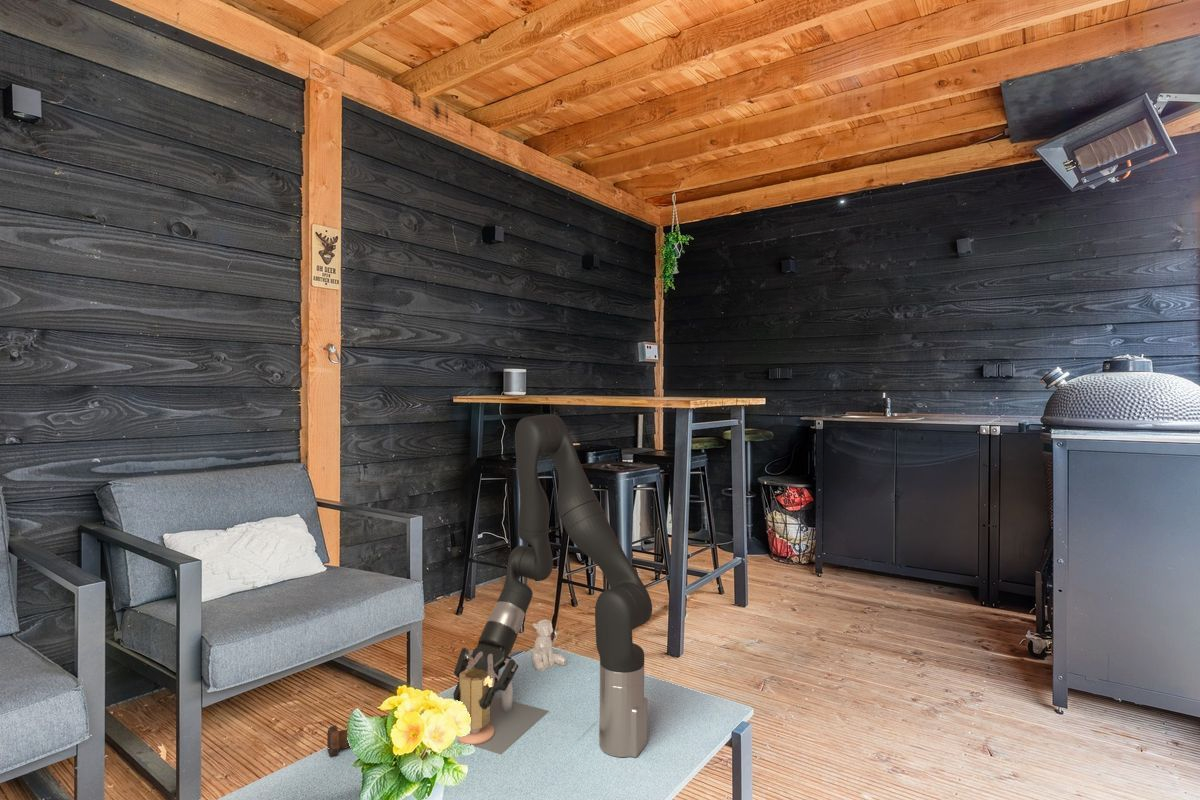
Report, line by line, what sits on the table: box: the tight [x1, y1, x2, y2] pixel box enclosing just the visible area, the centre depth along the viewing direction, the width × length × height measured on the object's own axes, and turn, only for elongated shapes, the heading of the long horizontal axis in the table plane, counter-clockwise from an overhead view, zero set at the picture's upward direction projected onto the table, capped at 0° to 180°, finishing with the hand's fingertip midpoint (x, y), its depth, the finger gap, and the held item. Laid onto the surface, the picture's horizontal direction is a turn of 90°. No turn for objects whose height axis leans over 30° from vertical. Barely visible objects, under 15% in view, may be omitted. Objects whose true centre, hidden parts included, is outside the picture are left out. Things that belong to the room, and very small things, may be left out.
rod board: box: [457, 681, 550, 755], centre depth 140 cm, size 18×20×8 cm
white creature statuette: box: [530, 618, 568, 673], centre depth 172 cm, size 10×9×12 cm
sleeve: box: [458, 667, 490, 730], centre depth 135 cm, size 6×6×10 cm
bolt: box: [326, 724, 349, 758], centre depth 134 cm, size 6×5×15 cm
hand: (469, 703), depth 133 cm, fingers closed on sleeve, 6 cm apart
